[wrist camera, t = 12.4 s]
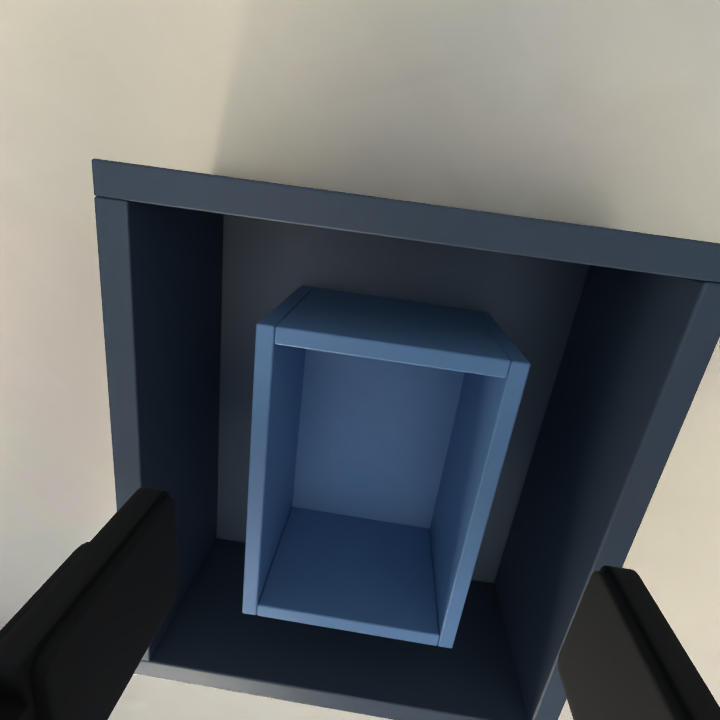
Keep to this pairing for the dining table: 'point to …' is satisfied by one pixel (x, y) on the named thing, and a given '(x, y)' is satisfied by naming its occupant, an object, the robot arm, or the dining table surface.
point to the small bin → (374, 460)
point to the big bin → (412, 283)
